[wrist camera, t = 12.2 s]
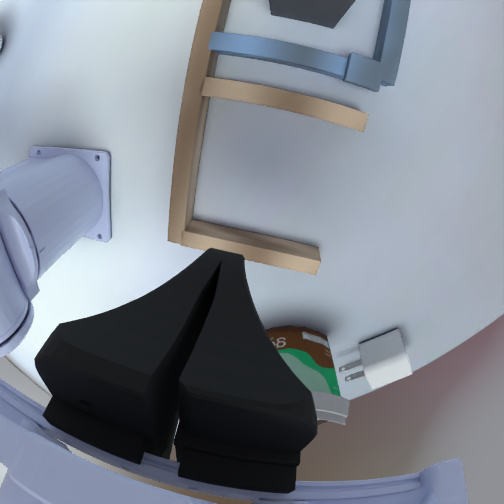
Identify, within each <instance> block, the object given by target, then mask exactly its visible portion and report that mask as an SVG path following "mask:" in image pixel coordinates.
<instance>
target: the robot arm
mask: <svg viewBox="0 0 504 504" xmlns="http://www.w3.org/2000/svg"><path fill="white" fill-rule="evenodd" d="M40 152H41V153H40ZM98 155H99V156H100V160H99V159H98V158H97V156H98ZM109 170H110V156H109V154H108V153H107V152H105V151H96V150H86V149H74V148H61V147H44V146H33V147H31V148H30V150H29V159H26V160H24V161H22V162H20V163H18V164H15V165H13V166H11V167H9V168H7V169H5V170H3V171H1V172H0V357H2V356H5V355H7V354H8V353H10V352H11V351H13V350H14V349H15V348H16V347H17V346H18V345H19V344H20V343H21V342H22V341H23V339H24V338H25V336H26V334H27V333H28V331H29V329H30V327H31V324H32V322H33V318H34V308H33V305H32V303H31V300H32V299H33V298H34V297H35V296H36V295H37V293H38V292H39V291H40V290H39V287H38V284H37V280H38V279H39V278H40V277H41V276H42V275H43V274H44V273H45V272H46V271H47V270H48V269H49V268H50V267H51V266H52V265H53V264H54V263H55V262H56V261H57V260H58V259H59V258H60V257H61V256H62V255H63V254H64V253H65V252H66V251H67V250H68V249H70V248H71V247H72V246H73V245H74V244H75V243H76V242H77V241H78V240H79V239H80V238H82V237H86V238H90V239H94V240H98V241H102V242H108V241H109V240H110V239H111V229H110V201H109ZM100 234H101V235H102V237H101V236H100ZM244 260H245V258H244V256H243V255H242V254H237V253H233V252H228V251H224V250H219V249H215V248H209V249H207V250H206V251H205V252H204V253H203V254H202V255H201V256H200V257H199V258H197V259H196V260H195V261H194V262H193V263H191V264H190V265H189V266H188V267H186V268H185V269H184V270H183V271H181V272H180V273H179V274H177V275H176V276H174V277H173V278H172V279H170V280H169V281H167V282H166V283H164V284H163V285H161V286H160V287H158V288H156V289H155V290H153V291H151V292H150V293H148V294H146V295H144V296H142V297H140V298H138V299H136V300H134V301H131V302H129V303H127V304H125V305H122V306H120V307H118V308H115V309H112V310H109V311H107V312H104V313H101V314H97V315H94V316H91V317H87V318H83V319H79V320H74V321H70V322H66V323H60V324H59V325H58V326H57V327H56V329H55V330H54V331H53V332H52V333H51V335H50V336H49V338H48V339H47V341H46V342H45V344H44V345H43V347H42V348H41V349H40V351H39V352H38V354H37V356H36V357H35V359H34V360H35V366H36V369H37V371H38V373H39V375H40V377H41V378H42V380H43V382H44V383H45V385H46V386H47V388H48V389H49V391H50V392H51V394H52V395H53V396H52V398H51V400H50V402H49V404H48V406H47V407H46V408H45V407H43V406H42V405H40V404H39V403H37V402H35V401H33V400H32V399H30V398H29V397H27V396H26V395H24V394H22V393H21V392H19V391H18V390H17V389H15V388H13V387H12V386H11V385H9V384H8V383H6V382H5V381H4V380H2V379H1V378H0V462H1V463H3V465H5V466H6V467H7V468H8V470H7V473H6V475H5V478H4V480H3V483H2V485H1V488H0V504H217V503H213V502H209V501H204V500H200V499H196V498H192V497H188V496H185V495H181V494H178V493H174V492H170V491H167V490H164V489H161V488H158V487H155V486H151V485H149V484H146V483H143V482H140V481H137V480H134V479H131V478H128V477H126V476H123V475H121V474H118V473H116V472H113V471H111V470H108V469H105V468H103V467H101V466H98V465H96V464H94V463H92V462H89V461H87V460H85V459H83V458H81V457H79V456H77V455H75V454H73V453H72V452H71V451H69V449H68V448H67V446H66V445H65V444H63V443H62V442H60V441H63V442H64V443H66V444H68V445H70V446H72V447H74V448H76V449H78V450H80V451H82V452H84V453H86V454H88V455H90V456H92V457H95V458H97V459H99V460H101V461H104V462H106V463H108V464H111V465H113V466H116V467H118V468H121V469H123V470H126V471H129V472H131V473H134V474H137V475H140V476H143V477H146V478H149V479H152V480H155V481H158V482H162V483H165V484H169V485H172V486H176V487H180V488H184V489H188V490H192V491H196V492H201V493H206V494H211V495H216V496H222V497H228V498H235V499H242V500H250V501H259V502H254V503H252V504H468V495H467V489H466V483H465V477H464V471H463V466H462V461H461V458H456V459H452V460H448V461H444V462H439V463H436V464H434V465H431V466H429V467H428V468H426V469H424V470H422V471H421V472H420V473H415V474H409V475H402V476H396V477H388V478H379V479H369V480H357V481H356V480H355V481H296V467H297V466H298V465H299V464H300V451H301V450H302V449H303V448H304V447H306V445H308V444H309V443H310V442H311V441H312V440H313V439H314V438H315V436H316V435H317V415H316V409H315V404H314V400H313V396H312V392H311V391H310V390H309V389H308V388H307V387H306V386H305V385H304V384H303V383H302V382H301V380H300V379H299V378H298V377H297V376H296V375H295V374H294V373H293V371H292V370H291V369H290V367H289V366H288V365H287V364H286V362H285V361H284V360H283V358H282V357H281V355H280V354H279V352H278V350H277V349H276V347H275V346H274V344H273V343H272V341H271V340H270V338H269V336H268V334H267V332H266V330H265V329H264V327H263V325H262V322H261V320H260V318H259V316H258V314H257V311H256V309H255V306H254V303H253V300H252V297H251V294H250V291H249V287H248V283H247V279H246V273H245V265H244ZM178 420H179V425H178V428H177V424H178ZM176 428H177V432H176ZM175 432H176V435H175ZM51 435H52V436H51ZM54 437H55V438H54ZM174 437H175V439H174ZM56 438H57V439H59V440H60V441H59V440H57V439H56ZM173 441H174V443H173ZM173 444H174V445H175V448H176V457H177V462H175V461H172V460H169V459H170V454H171V450H172V445H173Z"/></svg>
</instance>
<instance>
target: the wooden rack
mask: <svg viewBox="0 0 504 504" xmlns="http://www.w3.org/2000/svg"><path fill="white" fill-rule="evenodd" d="M410 1H411V0H385V2H384V7H383V13H382V18H381V24H380V29H379V34H378V39H377V44H376V48H375V53H374V58H373V60H372V59H370V58H367V57H364V56H361V55H359V54H356V53H353V52H352V53H350V54H349V56H348V58H345V57H342V56H339V55H335V54H332V53H328V52H325V51H321V50H317V49H314V48H310V47H306V46H301V45H297V44H293V43H288V42H283V41H278V40H273V39H267V38H261V37H255V36H248V35H240V34H232V33H223V30H224V26H225V22H226V18H227V14H228V10H229V6H230V2H231V0H203V2H202V6H201V10H200V14H199V18H198V22H197V26H196V31H195V35H194V40H193V44H192V49H191V54H190V59H189V64H188V69H187V74H186V80H185V86H184V92H183V98H182V104H181V110H180V117H179V124H178V132H177V139H176V147H175V156H174V165H173V175H172V186H171V197H170V210H169V226H168V241H170V242H174V243H178V244H180V245H182V246H186V247H191V248H195V249H200V250H204V251H206V250H207V249H209V248H215V249H219V250H224V251H228V252H233V253H237V254H242V255H243V256H244V258H245V260H249V261H254V262H258V263H263V264H267V265H272V266H276V267H281V268H285V269H290V270H295V271H299V272H304V273H309V274H313V275H316V274H317V271H318V269H319V266H320V263H321V258H320V252H319V247H315V246H310V245H306V244H302V243H297V242H293V241H289V240H284V239H280V238H275V237H271V236H266V235H262V234H257V233H253V232H248V231H244V230H239V229H235V228H230V227H226V226H221V225H216V224H212V223H207V222H202V221H198V220H193V219H192V217H193V208H194V199H195V191H196V183H197V175H198V168H199V161H200V154H201V147H202V140H203V134H204V128H205V122H206V116H207V110H208V104H209V99H210V97H216V98H223V99H230V100H236V101H242V102H248V103H253V104H258V105H263V106H268V107H273V108H278V109H282V110H287V111H291V112H295V113H299V114H303V115H307V116H311V117H315V118H318V119H322V120H325V121H329V122H332V123H336V124H339V125H342V126H346V127H349V128H352V129H355V130H358V131H361V132H364V129H365V126H366V122H367V118H368V115H369V114H367V113H364V112H361V111H358V110H355V109H352V108H349V107H346V106H343V105H339V104H336V103H333V102H329V101H326V100H322V99H319V98H315V97H311V96H307V95H303V94H299V93H295V92H291V91H287V90H282V89H278V88H273V87H268V86H263V85H257V84H252V83H246V82H240V81H233V80H226V79H219V78H213V77H214V72H215V67H216V62H217V58H218V54H224V55H232V56H239V57H246V58H253V59H259V60H264V61H270V62H275V63H280V64H285V65H289V66H294V67H298V68H302V69H306V70H310V71H314V72H318V73H321V74H325V75H328V76H332V77H335V78H338V79H342V80H343V81H345V82H348V83H351V84H354V85H357V86H360V87H363V88H366V89H369V90H371V91H374V92H379V88H380V84H381V85H383V86H394V85H395V80H396V76H397V72H398V67H399V63H400V58H401V53H402V48H403V43H404V38H405V32H406V26H407V20H408V14H409V8H410Z"/></svg>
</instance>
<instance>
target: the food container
mask: <svg viewBox="0 0 504 504" xmlns="http://www.w3.org/2000/svg"><path fill="white" fill-rule="evenodd" d="M266 332H267V334H268V336H269V338H270V340H271V341H272V343H273V344H274V346H275V347H276V349H277V350H278V352H279V354H280V355H281V357H282V358H283V360H284V361H285V362H286V364H287V365H288V366H289V367H290V369H291V370H292V371H293V373H294V374H295V375H296V376H297V377H298V378H299V379H300V380H301V382H302V383H303V384H304V385H305V386H306V387H307V388H308V389H309V390H310V391H311V392H312V396H313V400H314V404H315V409H316V415H317V425H319V424H322V423H324V422H327V421H333V422H337V423H340V424H343V425H346V422H345V421H346V420H345V417H348V410H349V400H347V399H345V398H343V397H341V395H340V390H339V386H338V381H337V377H336V372H335V368H334V364H333V359H332V355H331V351H330V347H329V343H328V338H327V336H325V335H323V334H322V333H320V332H318V331H315V330H312V329H309V328H306V327H298V326H283V327H274V328H271V329H268V330H266Z"/></svg>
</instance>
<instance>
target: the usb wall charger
mask: <svg viewBox="0 0 504 504" xmlns="http://www.w3.org/2000/svg"><path fill="white" fill-rule="evenodd" d="M359 350H360V355H361V359H360V360H358V361H355V362H352V363H349V364H346V365H344V366H342V367H339V373H342V372H345V371H349V370H352V369H355V368H358V367H360V366H363V371H360V372H357V373H354V374H351V375H349V376H347V377H345V382H349V381H353V380H356V379H359V378H362V377H365V376H366V378H367V380H368V382H369V384H370V386H371V388H372V389H374V388H377V387H380V386H383V385H385V384H388V383H391V382H393V381H396V380H398V379H401V378H404V377H406V376H408V375H411V374H412V371H411V367H410V363H409V359H408V356H407V352H406V349H405V346H404V343H403V340H402V338H401V335H400V332H399V329H396V330H394V331H391V332H389V333H386V334H384V335H382V336H379V337H377V338H374V339H372V340H369V341H367V342H364V343H361V344H359ZM343 367H344V368H345V370H343V371H341V369H342V368H343ZM348 377H351V379H350V380H347V378H348Z"/></svg>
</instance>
